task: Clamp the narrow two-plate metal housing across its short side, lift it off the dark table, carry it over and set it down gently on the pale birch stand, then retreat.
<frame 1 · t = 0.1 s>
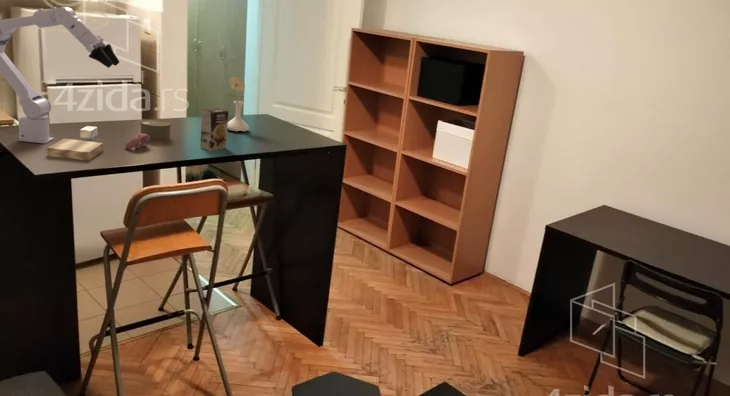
hand: (114, 64, 213), 32 cm above the table, tool tilted 50°, fingers open, 7 cm apart
flower in vase: (235, 130, 279), on the table
pink toy: (138, 148, 230), on the table
coffee box: (213, 148, 244), on the table
two-plate housing: (89, 143, 226), on the table
can: (155, 138, 246), on the table
birch stand: (76, 153, 212), on the table
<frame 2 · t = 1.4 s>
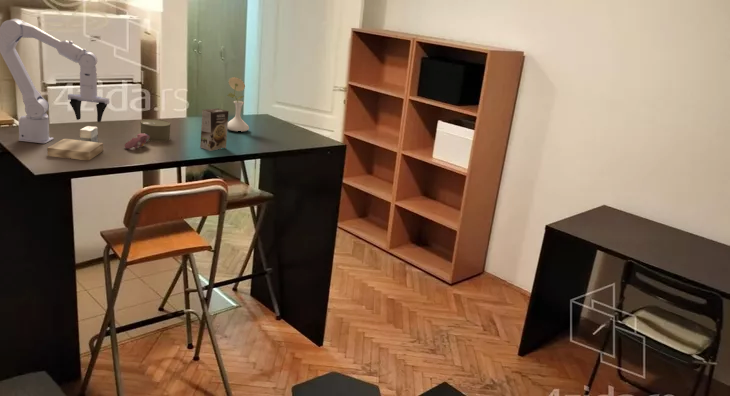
hand: (88, 120, 223), 9 cm above the table, tool pointing down, fingers open, 7 cm apart
nothing on the table moved.
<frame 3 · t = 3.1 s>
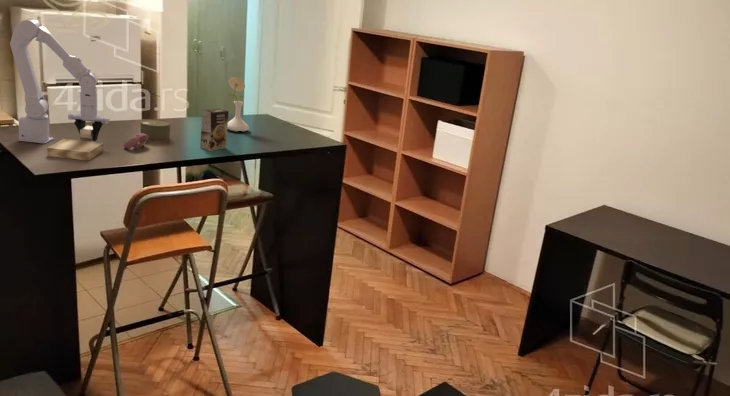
hand: (89, 139, 225), 1 cm above the table, tool pointing down, fingers closed on two-plate housing, 4 cm apart
two-plate housing: (89, 143, 226), on the table, touching gripper
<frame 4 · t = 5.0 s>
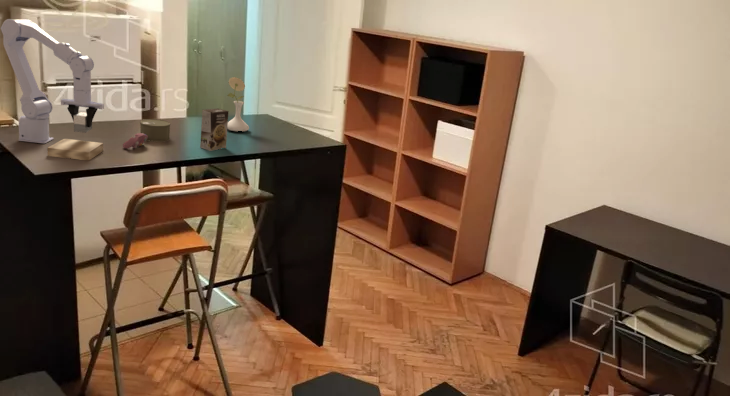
hand: (82, 126, 216), 8 cm above the table, tool pointing down, fingers closed on two-plate housing, 4 cm apart
two-plate housing: (83, 130, 217), point 7 cm above the table, touching gripper
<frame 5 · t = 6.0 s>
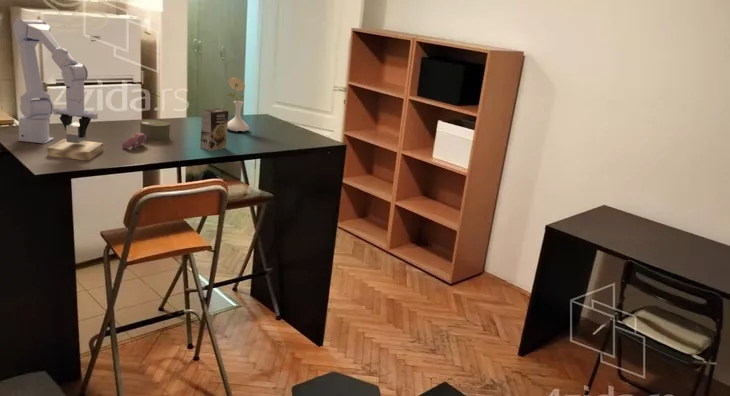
hand: (76, 136, 210), 6 cm above the table, tool pointing down, fingers closed on two-plate housing, 4 cm apart
two-plate housing: (76, 140, 211), point 5 cm above the table, touching gripper
when the fingers open (6 cm above the table, at t = 6.9 s): two-plate housing drops 1 cm, resting on birch stand.
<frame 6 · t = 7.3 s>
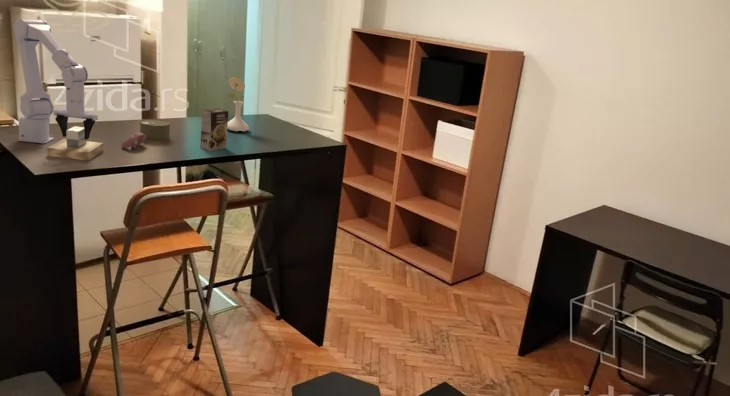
hand: (76, 137, 210), 6 cm above the table, tool pointing down, fingers open, 7 cm apart
two-plate housing: (76, 145, 211), point 3 cm above the table, touching birch stand
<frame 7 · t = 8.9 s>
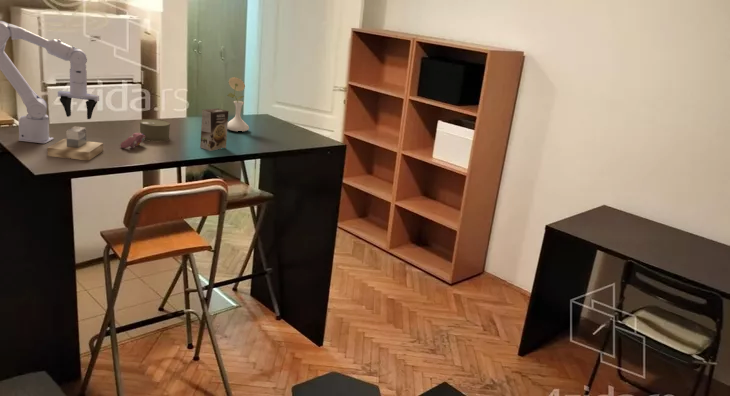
hand: (79, 117, 223), 9 cm above the table, tool pointing down, fingers open, 7 cm apart
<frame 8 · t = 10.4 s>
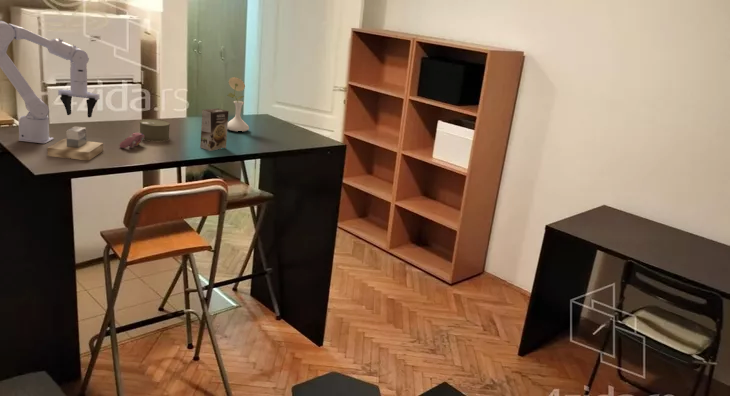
hand: (79, 115, 226), 9 cm above the table, tool pointing down, fingers open, 7 cm apart
at the end: two-plate housing inside the target area on the birch stand (0.4 cm from its centre), point 3.0 cm above the birch stand's base; two-plate housing tilted 0°; the gripper is holding nothing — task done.
